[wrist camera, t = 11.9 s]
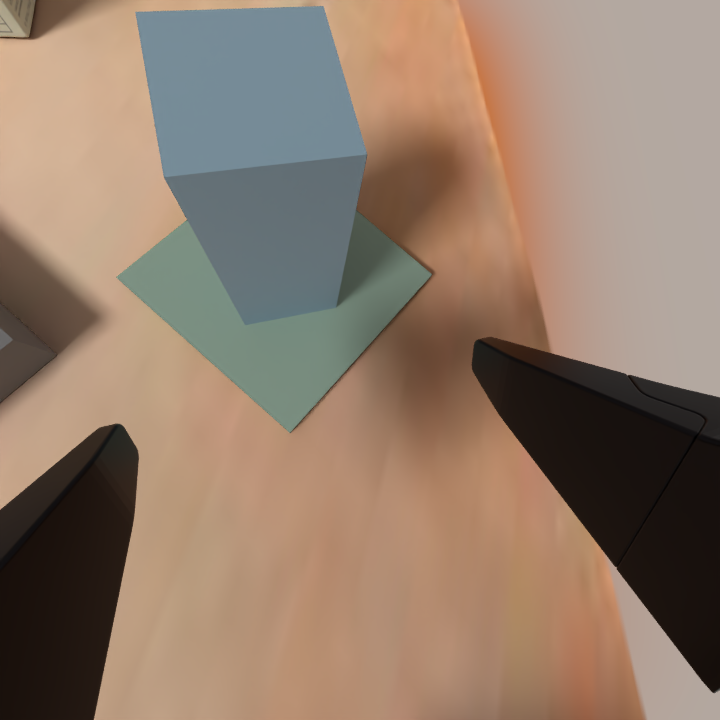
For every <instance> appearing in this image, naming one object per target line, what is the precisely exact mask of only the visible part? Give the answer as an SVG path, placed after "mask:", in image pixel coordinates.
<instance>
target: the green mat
mask: <svg viewBox="0 0 720 720" xmlns="http://www.w3.org/2000/svg"><path fill="white" fill-rule="evenodd" d="M431 275H432V274H431V273H430V272H429V271H427V270H426V269H425V268H424V267H423V266H421V265H420V264H419V263H418V262H417V261H416V260H414V259H413V258H412V257H411V256H410V255H409V254H407V253H406V252H405V251H404V250H403V249H402V248H400V247H399V246H398V245H397V244H396V243H394V242H393V241H392V240H391V239H390V238H389V237H387V236H386V235H385V234H384V233H383V232H382V231H380V230H379V229H378V228H377V227H376V226H374V225H373V224H372V223H371V222H370V221H369V220H367V219H366V218H365V217H364V216H363V215H362V214H360V213H359V212H358V211H357V210H356V212H355V217H354V222H353V227H352V232H351V237H350V241H349V246H348V251H347V256H346V261H345V266H344V271H343V276H342V281H341V286H340V291H339V295H338V300H337V305H336V308H332V309H327V310H322V311H317V312H311V313H306V314H301V315H296V316H291V317H285V318H280V319H275V320H270V321H265V322H259V323H254V324H249V325H245V324H244V322H243V320H242V319H241V317H240V315H239V313H238V311H237V310H236V308H235V306H234V304H233V302H232V300H231V299H230V297H229V295H228V293H227V291H226V289H225V288H224V286H223V284H222V282H221V280H220V279H219V277H218V275H217V273H216V271H215V269H214V268H213V266H212V264H211V262H210V260H209V258H208V257H207V255H206V253H205V251H204V249H203V248H202V246H201V244H200V242H199V240H198V238H197V237H196V235H195V233H194V231H193V229H192V227H191V226H190V224H189V222H188V220H186V221H185V222H184V223H183V224H181V225H180V226H179V227H178V228H176V229H175V230H174V231H173V232H172V233H170V234H169V235H168V236H167V237H165V238H164V239H163V240H162V241H160V242H159V243H158V244H157V245H155V246H154V247H153V248H152V249H151V250H149V251H148V252H147V253H146V254H144V255H143V256H142V257H141V258H139V259H138V260H137V261H136V262H134V263H133V264H132V265H131V266H129V267H128V268H127V269H126V270H125V271H123V272H122V273H121V274H120V275H118V276H117V277H116V278H117V279H119V280H120V281H121V282H122V283H123V284H124V285H125V286H126V287H128V288H129V289H130V290H131V291H132V292H133V293H134V294H135V295H136V296H138V297H139V298H140V299H141V300H142V301H143V302H144V303H145V304H147V305H148V306H149V307H150V308H151V309H152V310H153V311H154V312H155V313H157V314H158V315H159V316H160V317H161V318H162V319H163V320H164V321H166V322H167V323H168V324H169V325H170V326H171V327H172V328H173V329H174V330H176V331H177V332H178V333H179V334H180V335H181V336H182V337H183V338H185V339H186V340H187V341H188V342H189V343H190V344H191V345H192V346H193V347H195V348H196V349H197V350H198V351H199V352H200V353H201V354H202V355H204V356H205V357H206V358H207V359H208V360H209V361H210V362H211V363H212V364H214V365H215V366H216V367H217V368H218V369H219V370H220V371H221V372H223V373H224V374H225V375H226V376H227V377H228V378H229V379H230V380H231V381H233V382H234V383H235V384H236V385H237V386H238V387H239V388H240V389H242V390H243V391H244V392H245V393H246V394H247V395H248V396H249V397H250V398H252V399H253V400H254V401H255V402H256V403H257V404H258V405H259V406H261V407H262V408H263V409H264V410H265V411H266V412H267V413H268V414H269V415H271V416H272V417H273V418H274V419H275V420H276V421H277V422H278V423H280V424H281V425H282V426H283V427H284V428H285V429H286V430H287V431H288V432H290V433H291V432H292V431H293V429H294V428H295V427H296V426H297V425H298V424H299V423H300V422H301V421H302V419H303V418H304V417H305V416H306V415H307V414H308V413H309V412H310V410H311V409H312V408H313V407H314V406H315V405H316V404H317V403H318V402H319V400H320V399H321V398H322V397H323V396H324V395H325V394H326V393H327V392H328V390H329V389H330V388H331V387H332V386H333V385H334V384H335V383H336V382H337V380H338V379H339V378H340V377H341V376H342V375H343V374H344V373H345V372H346V370H347V369H348V368H349V367H350V366H351V365H352V364H353V363H354V361H355V360H356V359H357V358H358V357H359V356H360V355H361V354H362V353H363V351H364V350H365V349H366V348H367V347H368V346H369V345H370V344H371V343H372V341H373V340H374V339H375V338H376V337H377V336H378V335H379V334H380V333H381V331H382V330H383V329H384V328H385V327H386V326H387V325H388V324H389V323H390V321H391V320H392V319H393V318H394V317H395V316H396V315H397V314H398V312H399V311H400V310H401V309H402V308H403V307H404V306H405V305H406V304H407V302H408V301H409V300H410V299H411V298H412V297H413V296H414V295H415V294H416V292H417V291H418V290H419V289H420V288H421V287H422V286H423V285H424V284H425V282H426V281H427V280H428V279H429V278H430V276H431Z"/></svg>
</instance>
